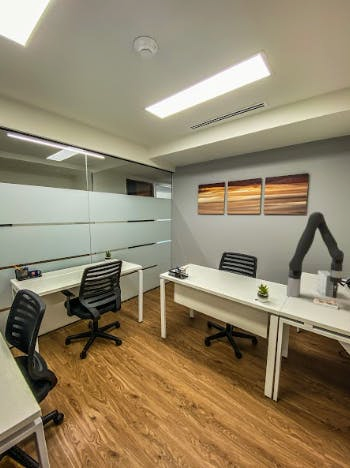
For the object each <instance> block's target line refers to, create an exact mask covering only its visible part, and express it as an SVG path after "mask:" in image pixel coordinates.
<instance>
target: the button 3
mask: <svg viewBox="0 0 350 468" xmlns="http://www.w3.org/2000/svg"><path fill="white" fill-rule="evenodd" d="M330 302H331V305H334V306H336V303H337V300H336V299H331V300H330Z"/></svg>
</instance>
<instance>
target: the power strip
mask: <svg viewBox="0 0 350 468" xmlns="http://www.w3.org/2000/svg"><path fill="white" fill-rule="evenodd" d="M316 299H317V298H314V299H313V301H310V300H309V301H308V302H309V303H312V304H313V305H316V306H320V307H324V308H329V309H334V310H337V311H338V309H339V304H338V303H337V302H336V306H334V305H331V301H328V304H325V303H323V300H324V299H323V300H322V299H320V300H321V303H320V302H316Z"/></svg>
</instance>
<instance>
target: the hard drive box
mask: <svg viewBox="0 0 350 468" xmlns="http://www.w3.org/2000/svg"><path fill="white" fill-rule="evenodd" d="M316 283H317V285H316V291H317V293H318V294H320V295H321V296H323V297H328V298H332V299H334V298H333V290H332V283H333V282H330V271H328V270H318V271H317V282H316Z"/></svg>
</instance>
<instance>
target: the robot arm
mask: <svg viewBox="0 0 350 468" xmlns="http://www.w3.org/2000/svg"><path fill="white" fill-rule="evenodd" d="M317 230H318V232H319V234H320V236H321V238H322V241H323V243H324V245H325V246H326V249H327V251H328V253H329V256H330V257H331V259H332V260H331V263H330V270H329V272H330V282H333V283H332V290H333V298H332V299H337V297H338V291H339V286H340V284H341V283H343V263H344V257H345V254H344V252H343V251H342V250H341V249H340V248H339V246H338V242H337V241H336V239H335V237H334V235H333V234H332V232H331V230H330V229H329V227H328V225H327V223H326V220H325V215H324V214H323V213H322V212H320V211H319V212H318V211H315V212H314V211H313V212H312V213H310V214H309V217H308V219H307V222H306V225H305V228H304V230H303V232H302V234H301V236H300V237H299V240H298V243H297V246H296V248H295V252H294V255H293V256H292V258H291V260H290V261H289V262H288V267H289V268H288V269H289V271H288V279H287V280H288V282H287V284H286V296H287V297H288V298H291V297H292V298H300V296H301V282H302V271H303V262H304V260H305V257H306V255H307V254H308V252H309V251H310V249H311V248H312V247H311V246H312V245H313V243H314V239H315V235H316V231H317Z"/></svg>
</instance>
